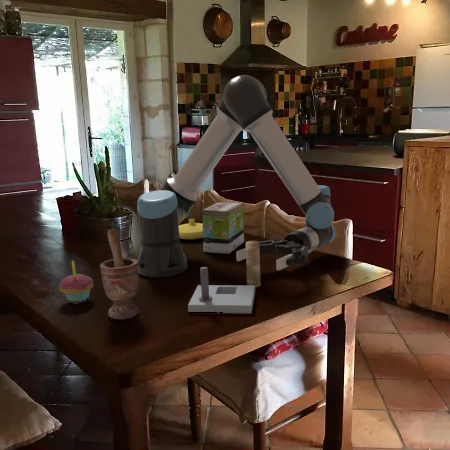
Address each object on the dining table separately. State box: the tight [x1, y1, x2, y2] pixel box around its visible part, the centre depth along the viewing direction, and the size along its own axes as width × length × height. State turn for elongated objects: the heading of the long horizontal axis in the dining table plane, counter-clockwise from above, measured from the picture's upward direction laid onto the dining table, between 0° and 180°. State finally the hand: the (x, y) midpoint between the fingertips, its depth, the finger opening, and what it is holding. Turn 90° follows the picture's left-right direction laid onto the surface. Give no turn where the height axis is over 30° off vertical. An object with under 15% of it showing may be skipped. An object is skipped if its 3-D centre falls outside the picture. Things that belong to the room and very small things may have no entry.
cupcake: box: [58, 259, 94, 301], centre depth 124 cm, size 9×8×12 cm
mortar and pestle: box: [99, 228, 140, 319], centre depth 114 cm, size 12×9×20 cm
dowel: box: [245, 240, 261, 288], centre depth 129 cm, size 4×4×12 cm
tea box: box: [201, 201, 245, 255], centre depth 166 cm, size 15×10×15 cm
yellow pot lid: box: [179, 218, 203, 240], centre depth 182 cm, size 16×16×7 cm
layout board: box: [187, 266, 256, 314], centre depth 119 cm, size 15×13×10 cm
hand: (256, 260), depth 129 cm, fingers open, 13 cm apart
